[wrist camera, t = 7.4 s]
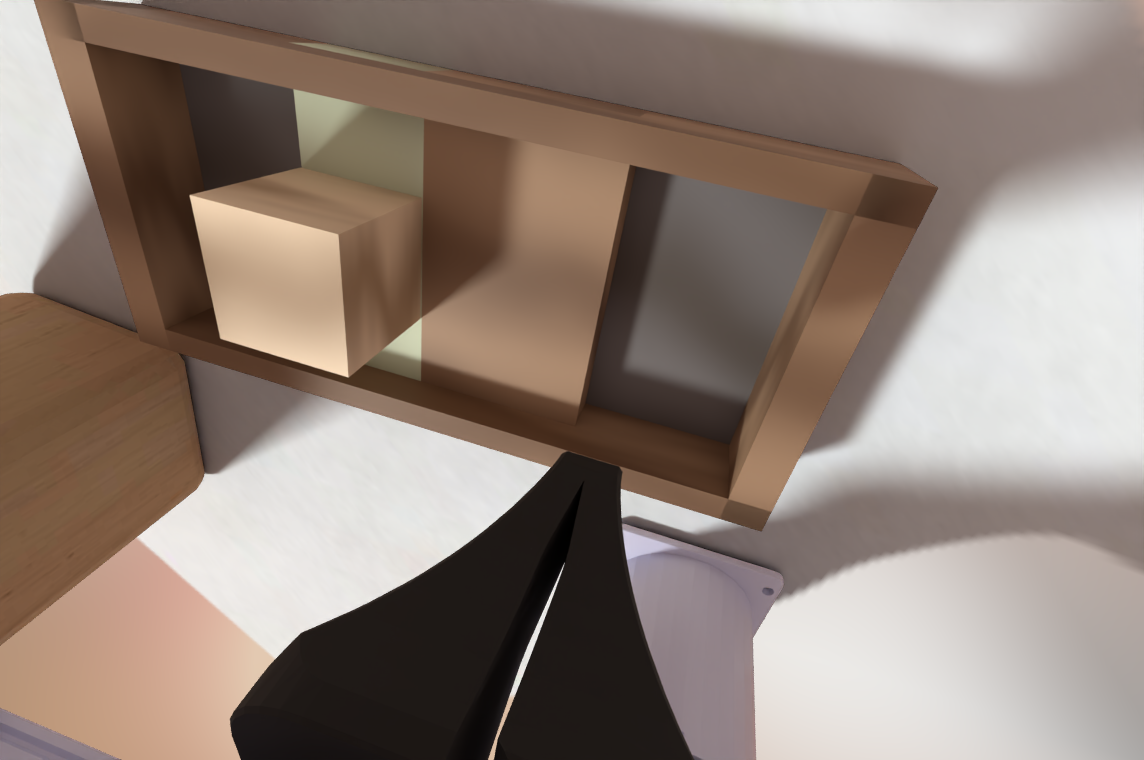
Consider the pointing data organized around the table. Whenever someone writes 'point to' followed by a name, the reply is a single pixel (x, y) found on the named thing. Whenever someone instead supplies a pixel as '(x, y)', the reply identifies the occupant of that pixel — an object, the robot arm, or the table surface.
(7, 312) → the wooden block
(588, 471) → the robot arm
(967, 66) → the table surface
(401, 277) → the maple block
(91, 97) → the box
